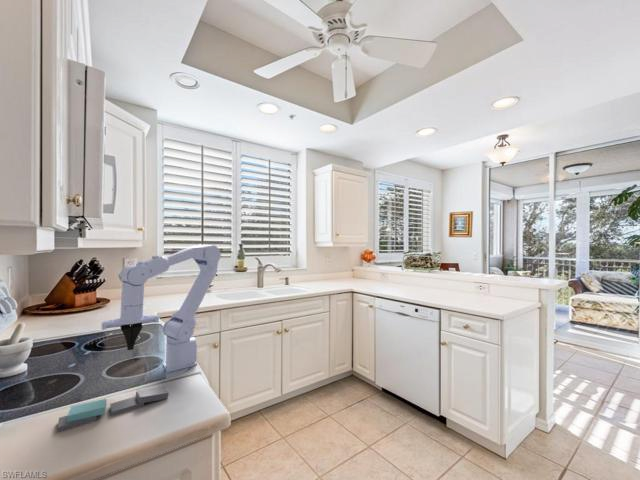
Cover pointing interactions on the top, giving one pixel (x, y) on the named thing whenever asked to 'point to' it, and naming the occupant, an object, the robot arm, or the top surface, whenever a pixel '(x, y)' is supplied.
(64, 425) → the domino
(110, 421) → the top surface
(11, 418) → the top surface
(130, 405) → the domino
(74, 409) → the domino
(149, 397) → the domino
